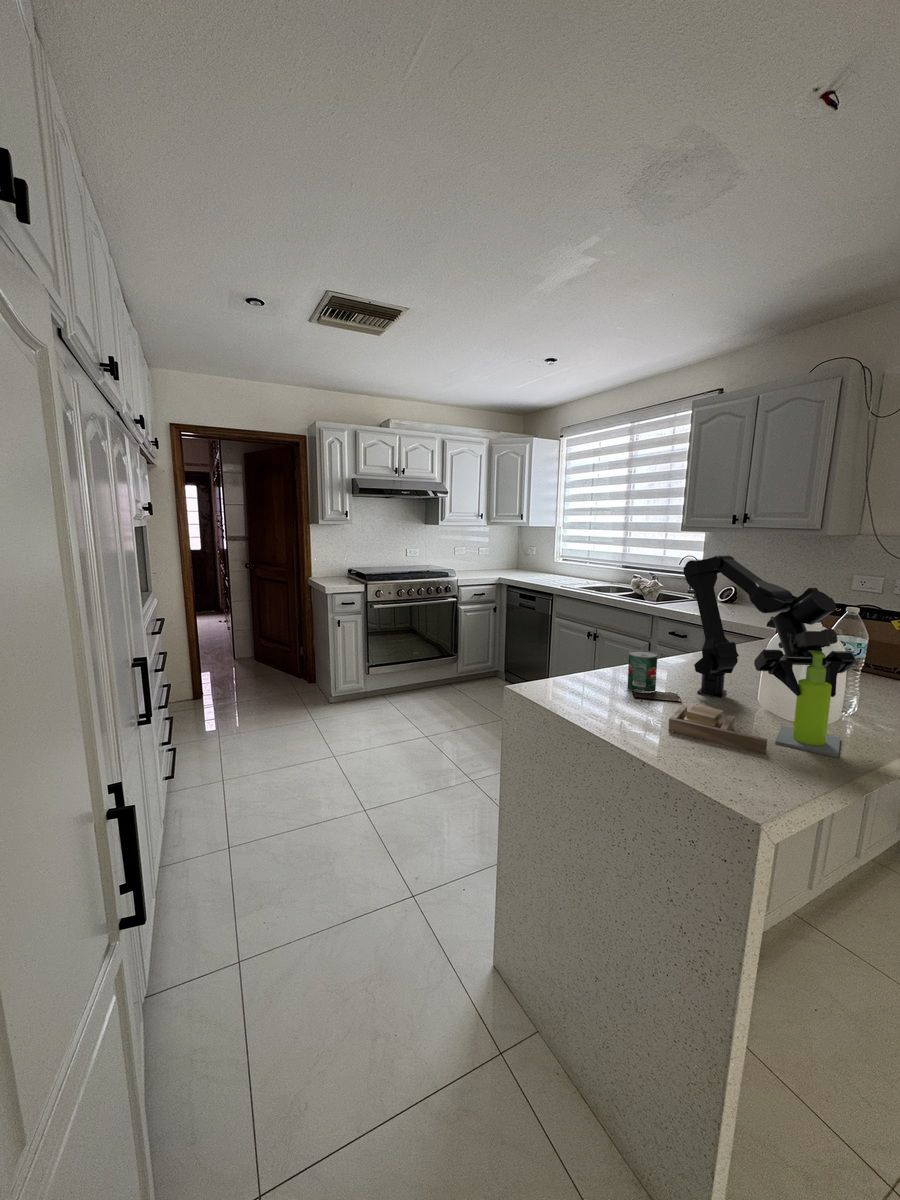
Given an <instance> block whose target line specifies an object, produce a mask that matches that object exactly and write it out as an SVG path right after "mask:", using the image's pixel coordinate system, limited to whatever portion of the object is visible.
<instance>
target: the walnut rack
mask: <svg viewBox="0 0 900 1200" xmlns="http://www.w3.org/2000/svg"><path fill="white" fill-rule="evenodd" d="M687 711H688V706H685V705H681V706H680V707H679V708H678V709H677V710H676V711H675V712H674V713H673V714H672V716H670V717H669V718H668V731H669V732H671V731H673V732H672V733H676V732H677V734H680V733H681V735H684V734H685V736H688V735H689V737H693V738H697V739H700V740H705V741H708V742H713V743H717V744H722V745H726V746H730V747H733V748H738V749H742V750H745V749H746V750H745V751H749V750H750V752H753V751H754V753H758V754H762V755H766V753H767V747H768V738H764V737H760V736H755V735H750V734H746V733H743V732H739V731H738V732H737V731H734V729H735V720H736V719H735V718H736V716H734V715H728V716H727V718H726V719H725V720H724V722H722V726H721V728H716V727H712V726H707V725H703V724H699V723H694V722H690V721H685V720H684V718H685V717H686V714H687Z"/></svg>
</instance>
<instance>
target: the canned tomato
mask: <svg viewBox="0 0 900 1200" xmlns="http://www.w3.org/2000/svg"><path fill="white" fill-rule="evenodd" d="M627 666H628V667H627V668H628V669H627V687H626V689H627V690H628V691H630V692H632V690H634V689H638V690H644V691H655V690H656V689H657V687H656V686H657V670H658V668H657V667H658V653H657V652H654V651H649V650H641V649H639V650H630V651H628V665H627ZM656 691H657V690H656ZM656 691H655V692H656Z"/></svg>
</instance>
